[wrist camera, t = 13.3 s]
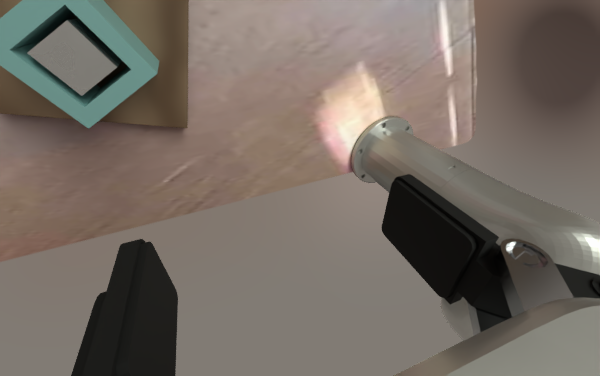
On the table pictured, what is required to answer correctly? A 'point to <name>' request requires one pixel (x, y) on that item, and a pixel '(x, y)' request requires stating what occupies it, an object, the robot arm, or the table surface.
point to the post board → (149, 96)
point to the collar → (14, 58)
